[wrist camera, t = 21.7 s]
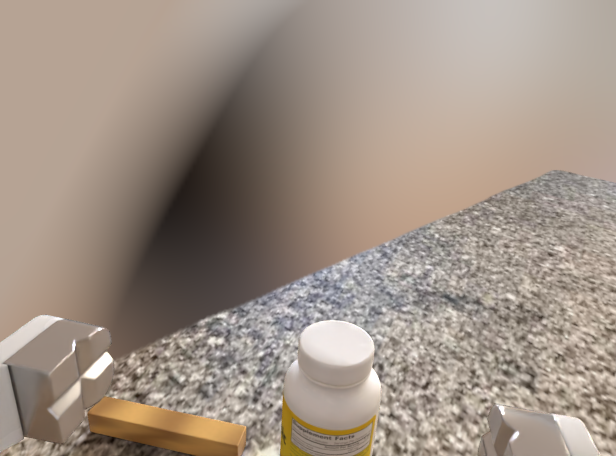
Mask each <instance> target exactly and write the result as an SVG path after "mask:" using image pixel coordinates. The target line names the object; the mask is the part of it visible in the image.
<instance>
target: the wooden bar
mask: <svg viewBox="0 0 616 456" xmlns="http://www.w3.org/2000/svg"><path fill="white" fill-rule="evenodd" d="M88 420H89V427H90V431H91V432H94V433H98V434H103V435H107V436H112V437H116V438H120V439H125V440H129V441H134V442H138V443H142V444H147V445H151V446H155V447H160V448H164V449H169V450H173V451H177V452H182V453H186V454H191V455H195V456H241V455H242V453H243V450H244V448H245V445H246V426H242V425H237V424H232V423H228V422H223V421H218V420H213V419H209V418H204V417H199V416H195V415H190V414H185V413H181V412H176V411H171V410H167V409H162V408H157V407H153V406H148V405H143V404H139V403H134V402H129V401H124V400H120V399H115V398H110V397H106V396H104V397H103V398H102V400H101V401H100V402H99V403H98V404H96V405H94V406H93V407H92V409H91V410H90V411H89V412H88Z"/></svg>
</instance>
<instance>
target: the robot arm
mask: <svg viewBox="0 0 616 456" xmlns="http://www.w3.org/2000/svg"><path fill="white" fill-rule="evenodd" d="M111 344H112V342H111V336H110V331H109V330H108V329H106V328H104V327H100V326H96V325H92V324H87V323H83V322H78V321H74V320H69V319H62V318H58V317H54V316H49V315H42V316H37V317H35V318H34V319H33V320H31V321H30V322H28V323H27V324H26V325H24V326H23V327H21V328H20V329H19V330H17V331H16V332H14V333H13V334H12V335H10V336H9V337H7V338H6V339H5V340H3V341H2V342H0V453H1V452H2V451H4V450H6V449H7V448H9V447H11V446H13V445H14V444H16V443H18V442H20V441H21V440H23V439H24V437H28V438H33V439H38V440H43V441H48V442H53V443H58V444H62V445H63V444H64V442H65V441H66V440H67V439H68V438H69V437H70V436H71V434H72V433H73V432H74V431H75V430H76V429H77V427H78V426H79V425H80V424H81V423H82V422H83V421H84V419H85V409H87V408H90V407H92V406H94V405H96V404H98V403H99V402H100V401H101V400H102V398H103V397H104V396H105V395H106V393H107V392H108V389H109V387H110V385H111V383H112V381H113V376H114V360H113V359H112V357H111V356H110V355H109V353H108V352H107V351H106V350H107V349H108V347H109V346H110V345H111ZM487 420H488V424H489V428H490V431H489V432H487V433H486V434H484V435H483V436H482V437H481V441H480V445H479V448H478V456H601V455H600V453H599V451H598V449H597V447H596V446H595V444H594V442H593V440H592V438H591V436H590V434H589V432H588V430H587V428H586V426H585V424H584V423H583V422H582V421H581V420H580V419H579V418H574V417H569V416H563V415H557V414H551V413H550V414H547V413H543V412H537V411H532V410H527V409H521V408H516V407H511V406H505V405H500V404H495V403H494V405H493V406H492V407H491V409H490V412H489V415H488V418H487Z"/></svg>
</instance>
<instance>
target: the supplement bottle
mask: <svg viewBox="0 0 616 456" xmlns="http://www.w3.org/2000/svg"><path fill="white" fill-rule="evenodd" d="M373 358H374V343H373V341H372V339H371V337H370V336H369V335H368V334H367V333H366V332H365V331H364V330H363V329H361V328H360V327H358V326H356V325H353V324H351V323H348V322H343V321H335V320H328V321H321V322H317V323H314V324H312V325H310V326H308V327H307V328H306V329H305V330H304V331H303V332H302V333H301V335H300V338H299V347H298V359H297V360H296V361H295V362H294V363H293V364H292V365H291V366H290V368H289V369H288V371H287V373H286V376H285V380H284V388H283V406H282V426H281V449H280V456H372V452H373V446H374V440H375V433H376V427H377V420H378V414H379V408H380V401H381V385H380V381H379V379H378V376H377V375H376V373H375V371H374V370H373V369H372V365H373Z"/></svg>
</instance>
